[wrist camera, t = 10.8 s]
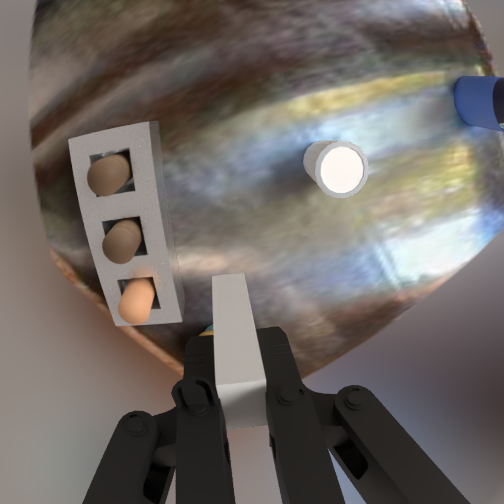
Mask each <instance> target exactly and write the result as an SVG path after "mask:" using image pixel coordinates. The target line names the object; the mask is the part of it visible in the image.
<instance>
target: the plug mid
mask: <svg viewBox="0 0 504 504" xmlns="http://www.w3.org/2000/svg"><path fill="white" fill-rule="evenodd" d="M143 237H144V234H143V229H142V224H141V219H140V216H136V217H129V218H122V219H119V220H118V221H117V222H116V224H115V225H114V226H113V227H112V229H111V230H110V231H109V232H108V234H107V235H106V236H105V237H104V239H103V242H102V250H103V253H104V255H105V256H106V257H107V258H108V259H109V260H110V261H111V262H113V263H116V264H125V263H128V262H129V261H130V260H131V259H132V258H133V256H134V254H135V253H136V251H137V249H138V247H139V245H140V243H141V241H142V239H143Z"/></svg>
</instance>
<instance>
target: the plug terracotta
mask: <svg viewBox="0 0 504 504" xmlns="http://www.w3.org/2000/svg"><path fill="white" fill-rule="evenodd" d="M155 291H156V287H155V283H154V279H153V277H142V278H132V279H129V281H128V284H127V286H126V288H125V290H124V293H123V295H122V298H121V300H120V302H119V305H118V313H119V315H120V317H121V318H122V319H123V320H124V321H126V322H127V323H129V324H133V325H140V324H143V323H145V322H146V321H147V320H148V318H149V314H150V310H151V306H152V302H153V299H154V295H155Z"/></svg>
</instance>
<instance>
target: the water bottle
mask: <svg viewBox="0 0 504 504" xmlns="http://www.w3.org/2000/svg"><path fill="white" fill-rule="evenodd" d="M454 101H455V106H456V109H457V112H458V114H459V116H460V117H461V119H462V120H463V121H464V122H465V123H467V124H469V125H473V126H478V127H483V128H488V129H493V130H497V131H502V132H504V78H503V77H487V76H463V77H461V78H460V79H459V80H458V81H457V83H456V85H455V89H454Z"/></svg>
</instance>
